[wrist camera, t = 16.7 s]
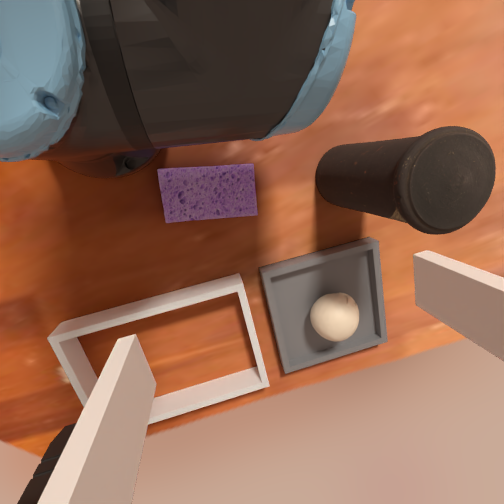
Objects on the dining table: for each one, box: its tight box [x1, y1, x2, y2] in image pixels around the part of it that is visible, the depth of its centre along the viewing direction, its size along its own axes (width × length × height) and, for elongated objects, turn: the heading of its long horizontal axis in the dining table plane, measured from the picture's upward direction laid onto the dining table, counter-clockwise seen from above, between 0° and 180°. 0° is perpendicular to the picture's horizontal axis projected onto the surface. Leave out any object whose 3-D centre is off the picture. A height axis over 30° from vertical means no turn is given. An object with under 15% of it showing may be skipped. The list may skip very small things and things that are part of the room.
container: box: [316, 126, 495, 234], centre depth 32 cm, size 9×9×20 cm
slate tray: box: [259, 237, 388, 374], centre depth 46 cm, size 18×18×2 cm
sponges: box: [157, 163, 258, 223], centre depth 39 cm, size 7×13×2 cm, turn 93°
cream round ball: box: [310, 292, 359, 342], centre depth 43 cm, size 7×7×7 cm
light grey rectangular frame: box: [47, 273, 269, 425], centre depth 43 cm, size 26×18×4 cm
